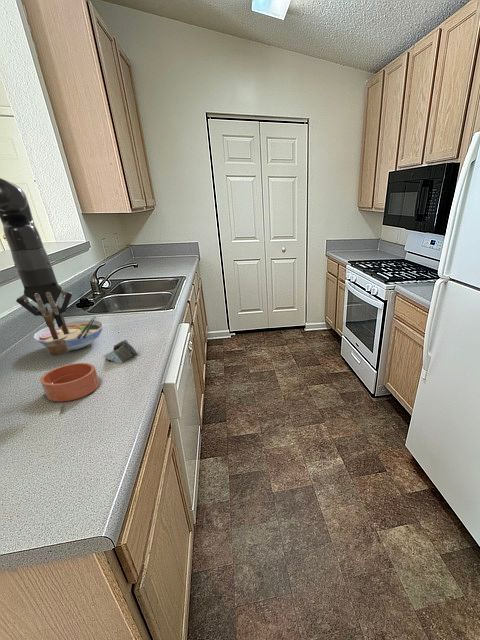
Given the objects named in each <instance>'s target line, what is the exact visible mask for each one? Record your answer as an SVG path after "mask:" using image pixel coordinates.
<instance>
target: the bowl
mask: <svg viewBox="0 0 480 640" xmlns="http://www.w3.org/2000/svg"><path fill="white" fill-rule="evenodd" d="M39 382H40V384H41V386H42V389H43V391H44V393H45V397H46V398H47V399H48V400H49V401H51V402H60V403H61V402H70V401H75V400H78V399H82V398H84V397H86V396H88V395H90V394H91V393H93V392H94V391H96V390H97V389H98V388H99V386H100V379H99V376H98V373H97V370H96V367H95V365H93V364H91V363H88V362H75V363H68V364H65V365H61V366H59V367H56V368H53V369H50V370H49V371H47V372H46V373H44V374H43V375H42V376H41V377H40V380H39Z"/></svg>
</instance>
